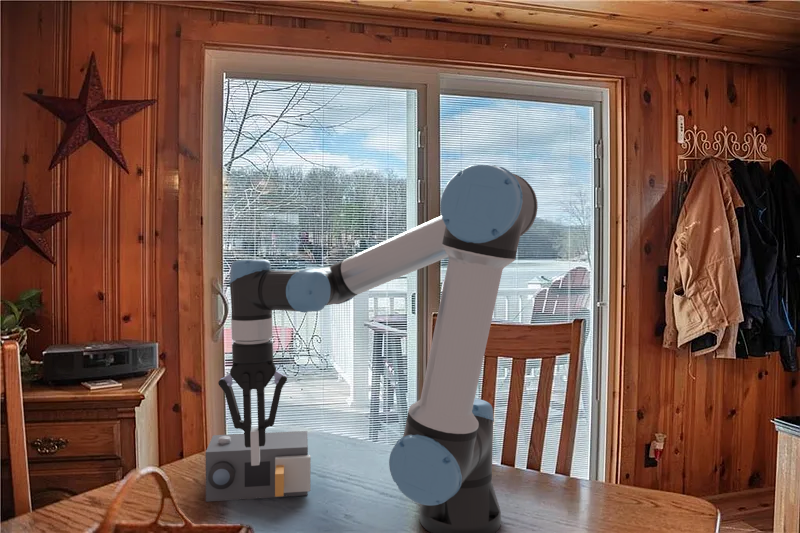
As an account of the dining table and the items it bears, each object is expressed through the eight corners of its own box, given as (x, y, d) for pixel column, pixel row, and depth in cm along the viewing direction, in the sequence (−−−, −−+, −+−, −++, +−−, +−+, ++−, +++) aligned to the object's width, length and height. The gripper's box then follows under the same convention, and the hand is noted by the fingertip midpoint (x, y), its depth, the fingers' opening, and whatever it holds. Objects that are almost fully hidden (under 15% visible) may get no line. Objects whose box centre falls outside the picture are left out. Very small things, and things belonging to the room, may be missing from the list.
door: (310, 500, 112) (310, 465, 112) (274, 503, 111) (274, 467, 111) (310, 488, 118) (310, 454, 118) (275, 490, 117) (275, 456, 116)
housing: (307, 498, 117) (307, 445, 116) (204, 505, 113) (204, 450, 113) (307, 475, 128) (307, 426, 128) (213, 480, 125) (213, 430, 124)
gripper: (287, 336, 115) (290, 453, 116) (219, 339, 113) (223, 458, 113) (286, 342, 107) (289, 467, 108) (213, 345, 105) (217, 473, 106)
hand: (255, 462), depth 111 cm, fingers closed
